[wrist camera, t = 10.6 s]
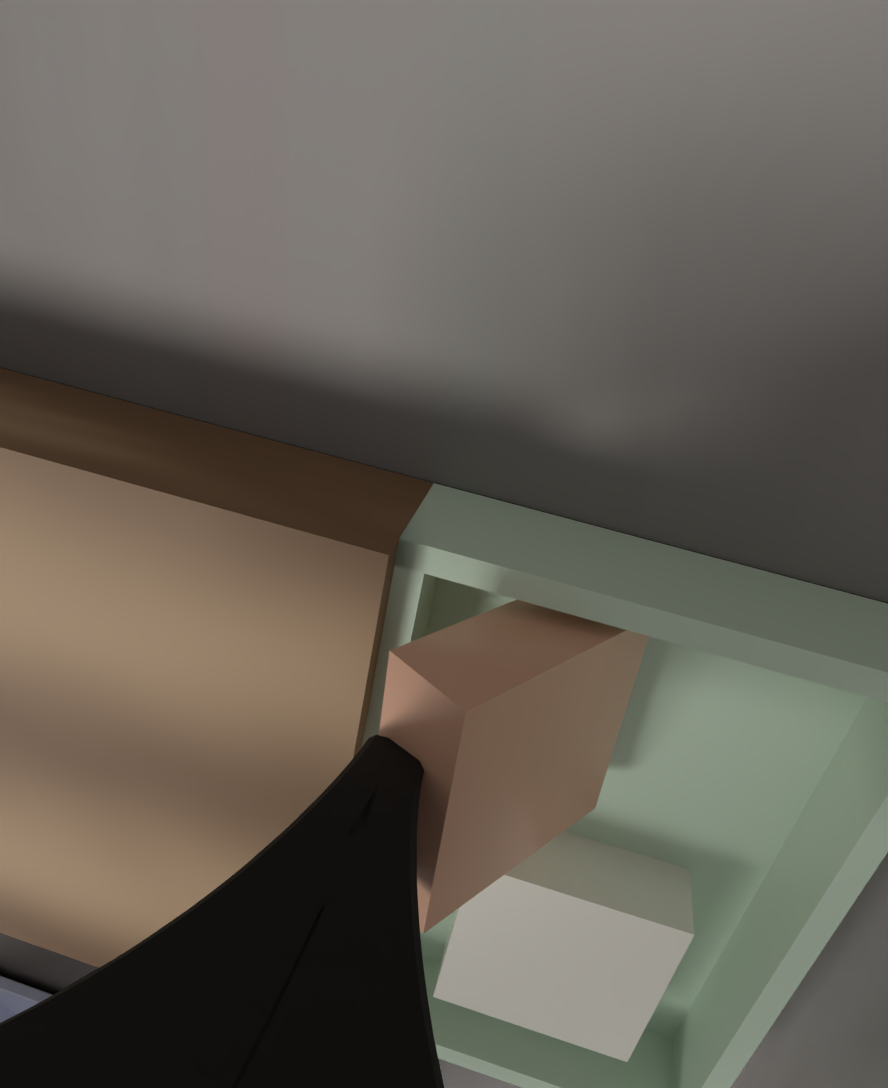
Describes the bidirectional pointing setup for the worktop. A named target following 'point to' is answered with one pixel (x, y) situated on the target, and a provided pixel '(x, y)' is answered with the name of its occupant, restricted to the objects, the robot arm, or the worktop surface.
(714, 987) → the tray
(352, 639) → the walnut board
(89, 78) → the worktop surface
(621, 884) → the cream tile
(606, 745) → the terracotta tile
